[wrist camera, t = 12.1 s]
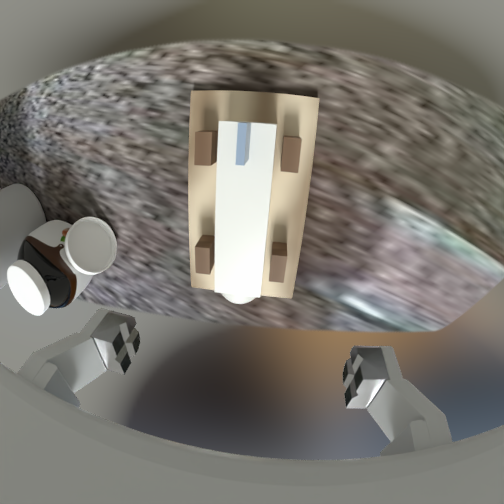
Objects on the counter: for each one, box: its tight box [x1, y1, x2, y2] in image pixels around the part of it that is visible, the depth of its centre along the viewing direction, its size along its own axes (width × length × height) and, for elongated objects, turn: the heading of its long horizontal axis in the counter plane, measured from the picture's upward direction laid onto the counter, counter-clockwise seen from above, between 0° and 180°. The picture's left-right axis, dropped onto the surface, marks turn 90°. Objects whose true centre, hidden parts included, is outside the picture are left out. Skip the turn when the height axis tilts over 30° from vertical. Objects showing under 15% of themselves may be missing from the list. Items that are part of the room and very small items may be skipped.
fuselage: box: [215, 121, 277, 304], centre depth 25 cm, size 4×18×8 cm, turn 176°
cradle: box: [188, 90, 319, 298], centre depth 27 cm, size 12×22×4 cm, turn 176°
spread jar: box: [7, 217, 117, 315], centre depth 28 cm, size 12×11×12 cm
